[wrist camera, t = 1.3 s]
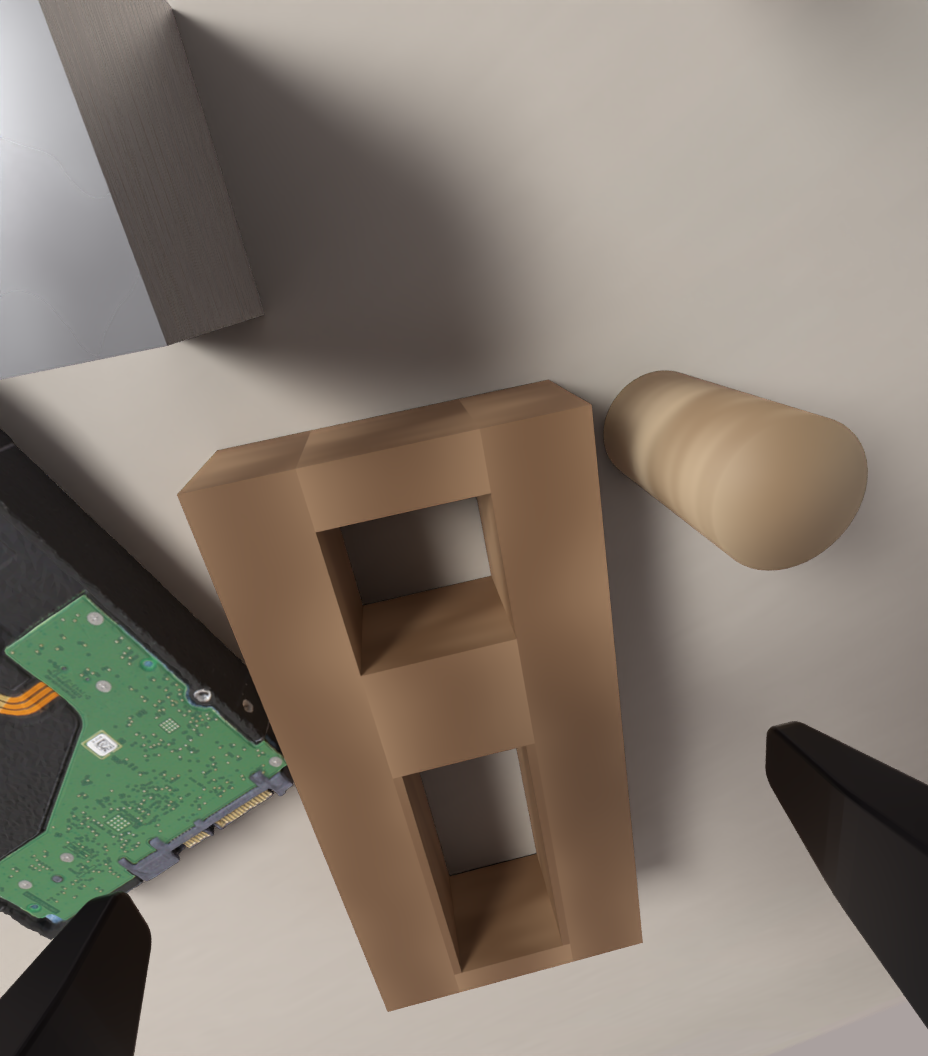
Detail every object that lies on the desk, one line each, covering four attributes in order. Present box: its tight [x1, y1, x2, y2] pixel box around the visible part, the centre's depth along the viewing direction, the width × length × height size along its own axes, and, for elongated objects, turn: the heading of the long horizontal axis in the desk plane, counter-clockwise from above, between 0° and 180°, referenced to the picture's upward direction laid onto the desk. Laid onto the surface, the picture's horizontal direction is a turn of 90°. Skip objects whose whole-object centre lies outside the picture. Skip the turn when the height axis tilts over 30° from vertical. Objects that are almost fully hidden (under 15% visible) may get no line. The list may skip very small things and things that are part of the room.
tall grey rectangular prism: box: [0, 0, 265, 380], centre depth 10 cm, size 2×6×8 cm, turn 11°
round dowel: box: [604, 371, 868, 571], centre depth 14 cm, size 3×3×6 cm
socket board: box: [177, 380, 643, 1012], centre depth 18 cm, size 9×19×4 cm, turn 11°
